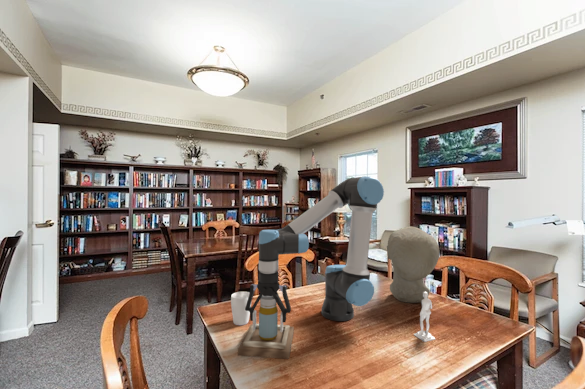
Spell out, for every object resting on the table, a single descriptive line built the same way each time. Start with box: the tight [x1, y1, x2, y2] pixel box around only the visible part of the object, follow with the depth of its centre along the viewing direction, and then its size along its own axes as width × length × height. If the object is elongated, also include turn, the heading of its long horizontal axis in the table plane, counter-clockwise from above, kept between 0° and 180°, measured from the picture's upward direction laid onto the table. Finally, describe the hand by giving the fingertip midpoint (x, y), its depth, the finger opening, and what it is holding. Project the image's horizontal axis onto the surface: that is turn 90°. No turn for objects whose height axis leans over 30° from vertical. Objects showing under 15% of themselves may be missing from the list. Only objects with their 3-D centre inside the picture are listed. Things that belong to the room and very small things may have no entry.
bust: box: [386, 225, 440, 304], centre depth 146 cm, size 25×28×40 cm
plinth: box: [237, 323, 295, 360], centre depth 105 cm, size 18×18×4 cm
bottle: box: [258, 295, 279, 341], centre depth 105 cm, size 7×7×15 cm
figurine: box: [413, 292, 436, 343], centre depth 111 cm, size 8×7×18 cm
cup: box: [230, 291, 252, 326], centre depth 123 cm, size 9×9×12 cm
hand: (268, 329), depth 105 cm, fingers open, 10 cm apart
